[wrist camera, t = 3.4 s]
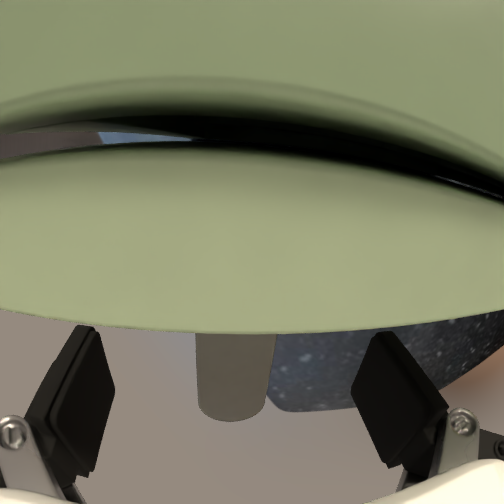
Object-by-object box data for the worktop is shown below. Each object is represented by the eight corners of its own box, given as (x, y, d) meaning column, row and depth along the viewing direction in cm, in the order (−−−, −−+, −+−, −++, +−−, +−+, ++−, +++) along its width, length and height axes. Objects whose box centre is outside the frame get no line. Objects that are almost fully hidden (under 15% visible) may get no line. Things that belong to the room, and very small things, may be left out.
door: (422, 243, 30) (578, 364, 8) (186, 229, 26) (123, 529, 4) (436, 177, 27) (621, 260, 5) (190, 141, 23) (-76, 180, 1)
